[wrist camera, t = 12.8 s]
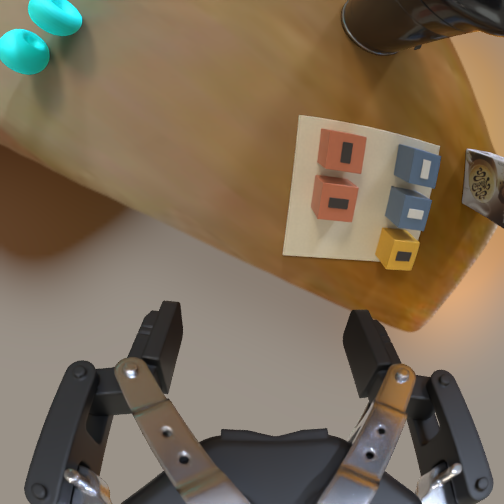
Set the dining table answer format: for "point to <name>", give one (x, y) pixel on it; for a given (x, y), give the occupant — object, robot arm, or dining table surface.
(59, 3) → the donuts
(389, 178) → the board
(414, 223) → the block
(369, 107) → the dining table surface
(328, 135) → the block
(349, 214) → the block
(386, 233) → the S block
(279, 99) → the dining table surface
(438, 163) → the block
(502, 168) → the coffee box
